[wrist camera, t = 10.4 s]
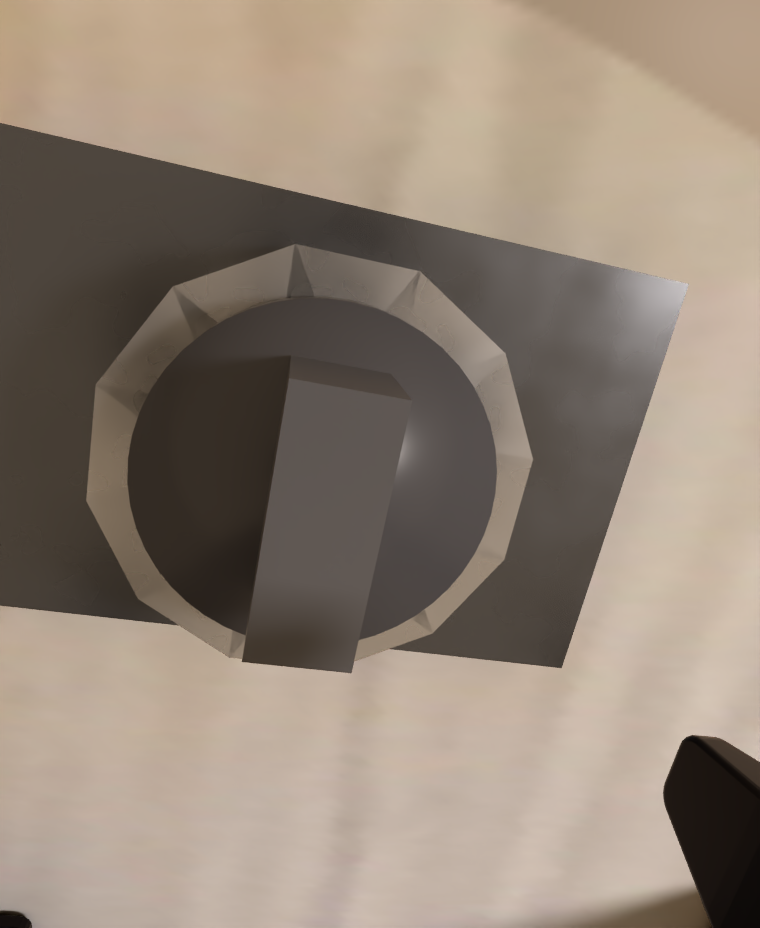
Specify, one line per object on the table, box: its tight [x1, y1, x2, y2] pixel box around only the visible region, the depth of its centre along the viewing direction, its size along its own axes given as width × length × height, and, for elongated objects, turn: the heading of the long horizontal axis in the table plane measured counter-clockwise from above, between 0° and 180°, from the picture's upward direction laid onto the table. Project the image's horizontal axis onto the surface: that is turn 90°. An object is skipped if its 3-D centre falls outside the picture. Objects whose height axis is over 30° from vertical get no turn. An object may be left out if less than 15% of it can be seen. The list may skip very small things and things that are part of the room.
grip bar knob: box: [127, 296, 497, 673], centre depth 14 cm, size 8×8×6 cm
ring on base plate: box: [0, 123, 689, 668], centre depth 17 cm, size 18×12×5 cm, turn 78°
